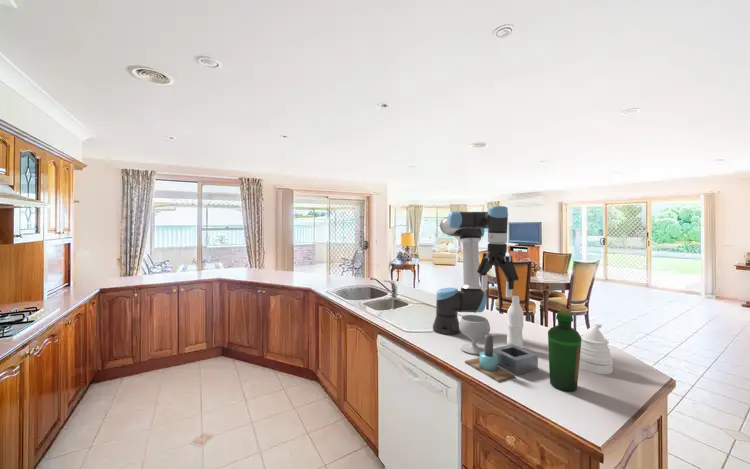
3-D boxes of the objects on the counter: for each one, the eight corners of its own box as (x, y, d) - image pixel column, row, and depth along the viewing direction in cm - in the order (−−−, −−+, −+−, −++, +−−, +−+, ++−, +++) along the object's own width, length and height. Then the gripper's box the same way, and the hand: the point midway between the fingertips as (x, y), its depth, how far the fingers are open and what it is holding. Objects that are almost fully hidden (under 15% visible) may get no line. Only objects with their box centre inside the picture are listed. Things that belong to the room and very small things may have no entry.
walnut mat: (464, 362, 131) (464, 360, 131) (480, 359, 135) (480, 357, 135) (497, 382, 115) (497, 379, 115) (515, 377, 119) (515, 375, 119)
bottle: (588, 391, 109) (589, 312, 108) (564, 395, 106) (566, 314, 105) (561, 377, 119) (563, 305, 118) (539, 381, 116) (541, 307, 115)
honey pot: (593, 359, 136) (594, 318, 135) (620, 372, 123) (622, 328, 123) (567, 361, 134) (568, 320, 133) (593, 375, 121) (594, 329, 121)
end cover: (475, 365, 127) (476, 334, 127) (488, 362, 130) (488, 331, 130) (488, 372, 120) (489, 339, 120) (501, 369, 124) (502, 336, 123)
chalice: (474, 358, 136) (474, 324, 135) (452, 347, 148) (452, 316, 148) (496, 352, 142) (496, 320, 142) (473, 342, 155) (474, 312, 154)
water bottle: (524, 351, 144) (525, 298, 143) (508, 350, 145) (509, 297, 145) (520, 345, 151) (521, 294, 150) (505, 344, 152) (506, 294, 152)
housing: (491, 362, 131) (491, 348, 131) (512, 357, 137) (512, 344, 137) (515, 375, 120) (516, 360, 120) (537, 369, 125) (538, 355, 125)
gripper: (469, 241, 139) (468, 288, 140) (515, 245, 116) (513, 301, 117) (482, 241, 142) (481, 286, 143) (529, 245, 119) (527, 299, 120)
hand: (496, 293), depth 130 cm, fingers open, 13 cm apart
